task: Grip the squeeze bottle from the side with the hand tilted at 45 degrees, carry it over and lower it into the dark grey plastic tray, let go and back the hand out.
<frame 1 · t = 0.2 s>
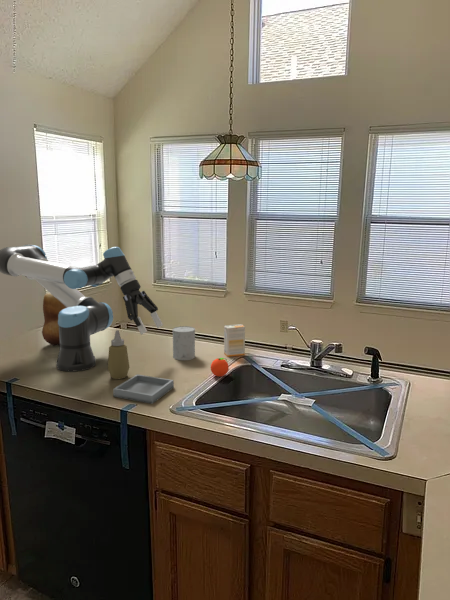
hand: (152, 329, 185), 15 cm above the counter, tool tilted 30°, fingers open, 13 cm apart
butternut squash: (59, 344, 213), on the counter
tray: (144, 391, 160), on the counter
clementine: (220, 376, 176), on the counter
squeeze bottle: (119, 377, 174), on the counter
supplement box: (234, 355, 201), on the counter
grey cylinder: (184, 357, 198), on the counter
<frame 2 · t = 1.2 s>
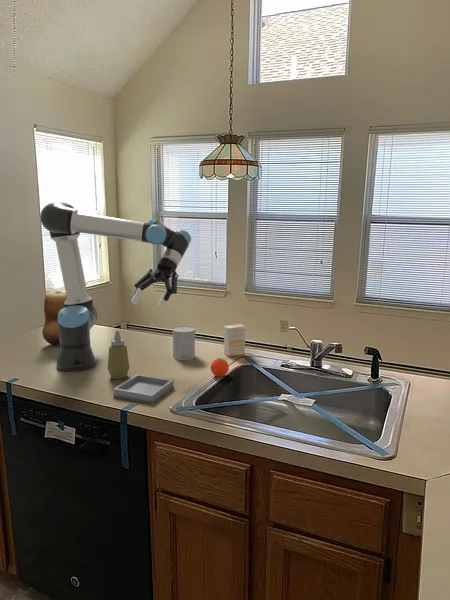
hand: (146, 305, 180), 26 cm above the counter, tool tilted 45°, fingers open, 13 cm apart
nothing on the counter moved.
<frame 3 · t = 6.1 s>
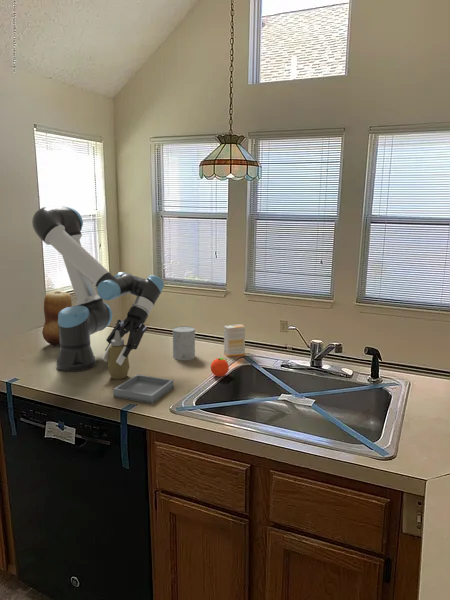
hand: (111, 361, 170), 7 cm above the counter, tool tilted 45°, fingers closed on squeeze bottle, 6 cm apart
squeeze bottle: (119, 377, 174), on the counter, touching gripper
everything else where it was.
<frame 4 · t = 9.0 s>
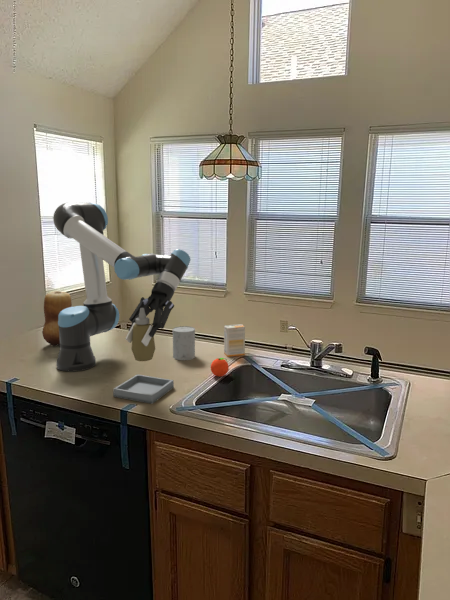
hand: (136, 342, 154), 19 cm above the counter, tool tilted 45°, fingers closed on squeeze bottle, 6 cm apart
squeeze bottle: (143, 359, 158), point 12 cm above the counter, touching gripper
everything else where it was.
when the fingers open (9 cm above the counter, at t = 12.0 s): squeeze bottle drops 1 cm, resting on tray.
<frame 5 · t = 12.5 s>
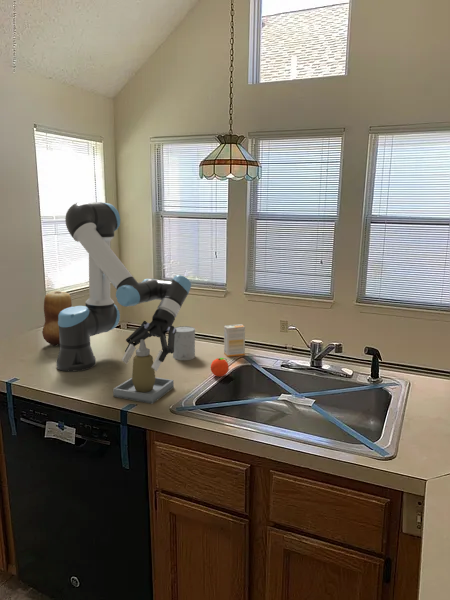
hand: (138, 365, 156), 10 cm above the counter, tool tilted 45°, fingers open, 13 cm apart
squeeze bottle: (144, 390, 160), point 1 cm above the counter, touching tray
everything else where it was.
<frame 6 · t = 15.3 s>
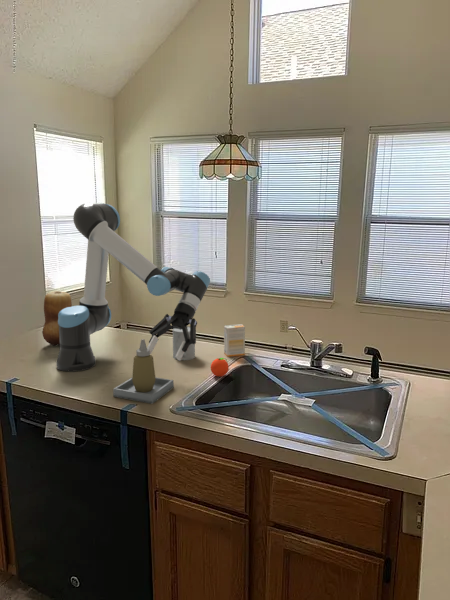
hand: (162, 355, 166), 10 cm above the counter, tool tilted 45°, fingers open, 13 cm apart
nothing on the counter moved.
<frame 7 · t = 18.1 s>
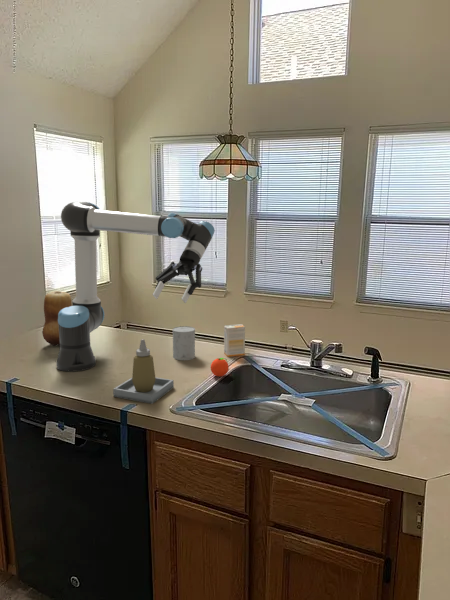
hand: (168, 298, 171), 30 cm above the counter, tool tilted 45°, fingers open, 13 cm apart
nothing on the counter moved.
at the end: squeeze bottle 0.1 cm off-centre on the tray, point 0.6 cm above the tray's base; squeeze bottle tilted 0°; the gripper is holding nothing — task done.
